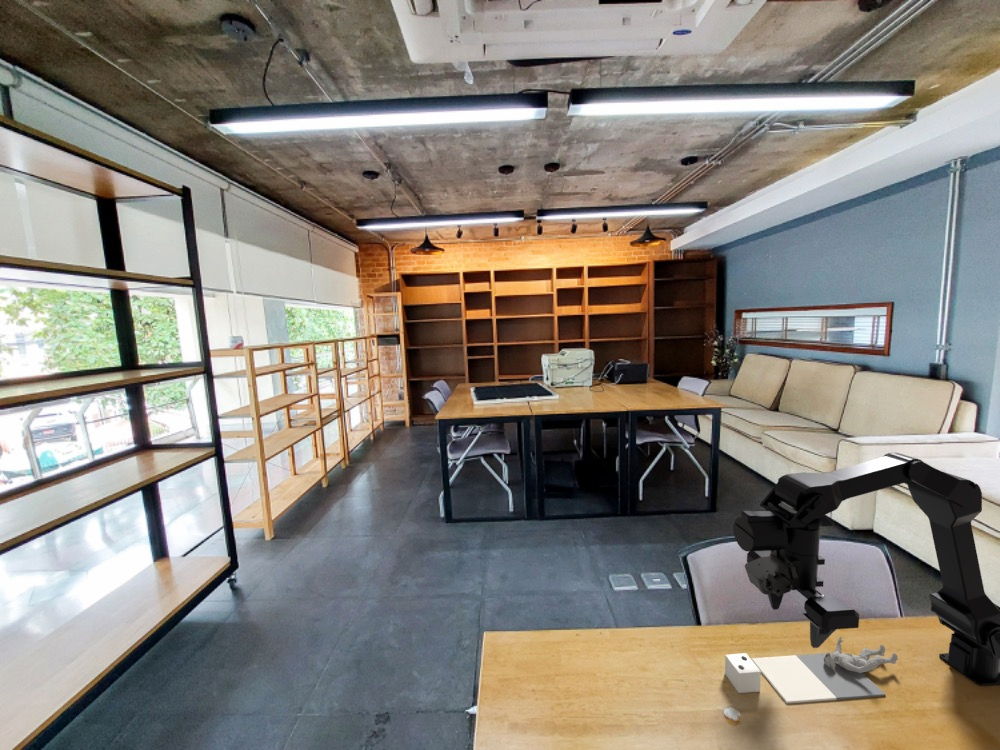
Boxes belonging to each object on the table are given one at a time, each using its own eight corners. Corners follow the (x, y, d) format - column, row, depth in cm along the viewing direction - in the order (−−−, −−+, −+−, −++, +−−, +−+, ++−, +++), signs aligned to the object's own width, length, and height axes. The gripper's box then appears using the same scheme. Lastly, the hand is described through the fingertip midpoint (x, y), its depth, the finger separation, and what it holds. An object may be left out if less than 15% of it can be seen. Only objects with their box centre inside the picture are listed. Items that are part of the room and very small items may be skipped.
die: (745, 672, 74) (746, 652, 74) (760, 691, 70) (760, 671, 70) (724, 673, 74) (725, 654, 74) (738, 693, 70) (739, 672, 70)
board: (839, 654, 78) (839, 652, 77) (885, 696, 69) (885, 694, 69) (751, 660, 77) (751, 658, 77) (786, 703, 68) (786, 701, 68)
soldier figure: (914, 665, 70) (845, 654, 70) (912, 693, 70) (843, 681, 70) (874, 638, 78) (812, 628, 78) (872, 663, 77) (810, 653, 78)
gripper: (722, 523, 79) (720, 595, 80) (796, 583, 60) (791, 674, 62) (776, 520, 79) (772, 591, 81) (865, 579, 60) (858, 669, 62)
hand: (793, 626), depth 71 cm, fingers open, 9 cm apart
